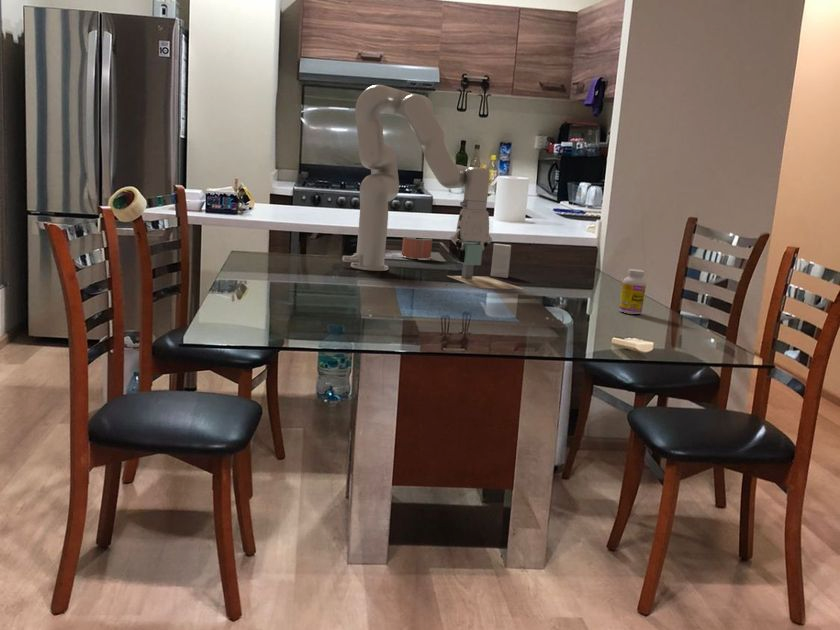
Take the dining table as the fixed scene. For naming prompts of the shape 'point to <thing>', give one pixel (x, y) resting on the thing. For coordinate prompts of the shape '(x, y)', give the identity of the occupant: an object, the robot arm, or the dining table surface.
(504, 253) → the skincare box
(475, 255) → the sage green cube
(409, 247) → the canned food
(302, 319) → the dining table surface
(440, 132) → the robot arm
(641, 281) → the supplement bottle
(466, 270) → the post
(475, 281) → the board
